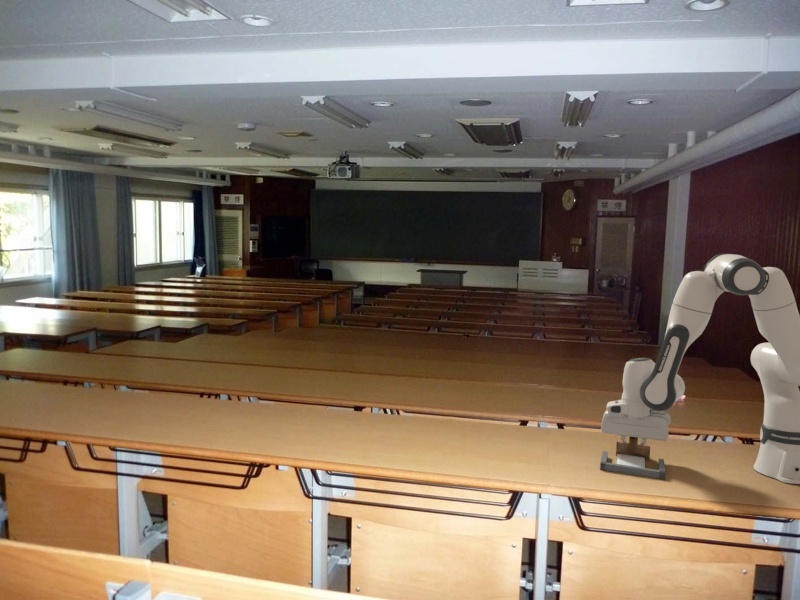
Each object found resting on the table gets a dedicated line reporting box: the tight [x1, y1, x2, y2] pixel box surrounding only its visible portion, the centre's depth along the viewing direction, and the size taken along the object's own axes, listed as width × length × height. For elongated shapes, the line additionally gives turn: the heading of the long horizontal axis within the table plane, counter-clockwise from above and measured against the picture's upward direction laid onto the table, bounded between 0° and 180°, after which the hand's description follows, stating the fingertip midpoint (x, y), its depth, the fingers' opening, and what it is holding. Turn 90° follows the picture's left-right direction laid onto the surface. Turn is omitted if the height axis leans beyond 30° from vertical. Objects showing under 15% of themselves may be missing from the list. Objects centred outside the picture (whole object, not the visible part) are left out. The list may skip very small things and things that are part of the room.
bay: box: [599, 450, 666, 480], centre depth 187 cm, size 18×12×2 cm
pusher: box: [615, 436, 651, 461], centre depth 198 cm, size 10×7×5 cm
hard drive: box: [616, 454, 646, 468], centre depth 190 cm, size 2×8×12 cm
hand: (632, 449), depth 197 cm, fingers closed on pusher, 2 cm apart
